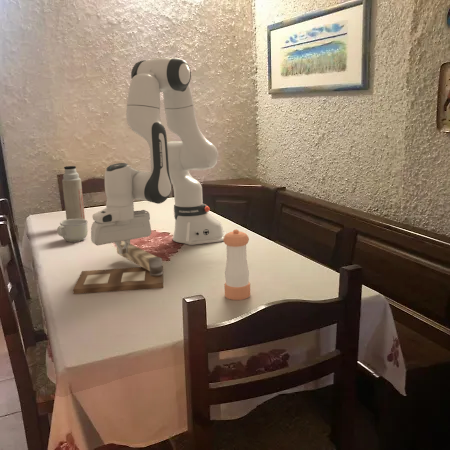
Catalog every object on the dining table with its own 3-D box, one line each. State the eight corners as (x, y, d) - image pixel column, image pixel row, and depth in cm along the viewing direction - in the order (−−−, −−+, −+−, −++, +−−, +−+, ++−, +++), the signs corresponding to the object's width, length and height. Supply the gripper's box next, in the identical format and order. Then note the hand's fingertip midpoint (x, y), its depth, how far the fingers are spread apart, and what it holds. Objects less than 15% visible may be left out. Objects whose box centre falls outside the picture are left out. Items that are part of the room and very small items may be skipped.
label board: (163, 269, 159) (162, 263, 159) (163, 287, 144) (162, 280, 143) (82, 275, 156) (81, 269, 156) (73, 294, 141) (72, 287, 140)
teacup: (79, 235, 206) (77, 217, 204) (94, 239, 199) (92, 220, 197) (49, 242, 196) (47, 223, 194) (64, 247, 189) (62, 227, 187)
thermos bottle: (88, 225, 221) (82, 165, 214) (80, 230, 214) (73, 167, 207) (73, 225, 223) (66, 165, 216) (64, 229, 215) (56, 167, 208)
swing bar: (164, 271, 150) (164, 259, 149) (153, 274, 148) (152, 261, 147) (126, 251, 172) (125, 240, 171) (115, 253, 170) (114, 242, 169)
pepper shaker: (249, 289, 140) (248, 226, 135) (251, 299, 133) (250, 232, 128) (224, 290, 140) (222, 226, 135) (225, 300, 133) (223, 233, 128)
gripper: (145, 207, 167) (147, 245, 171) (87, 215, 156) (91, 256, 159) (153, 210, 162) (155, 249, 166) (94, 219, 151) (97, 261, 154)
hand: (123, 253), depth 162 cm, fingers closed
